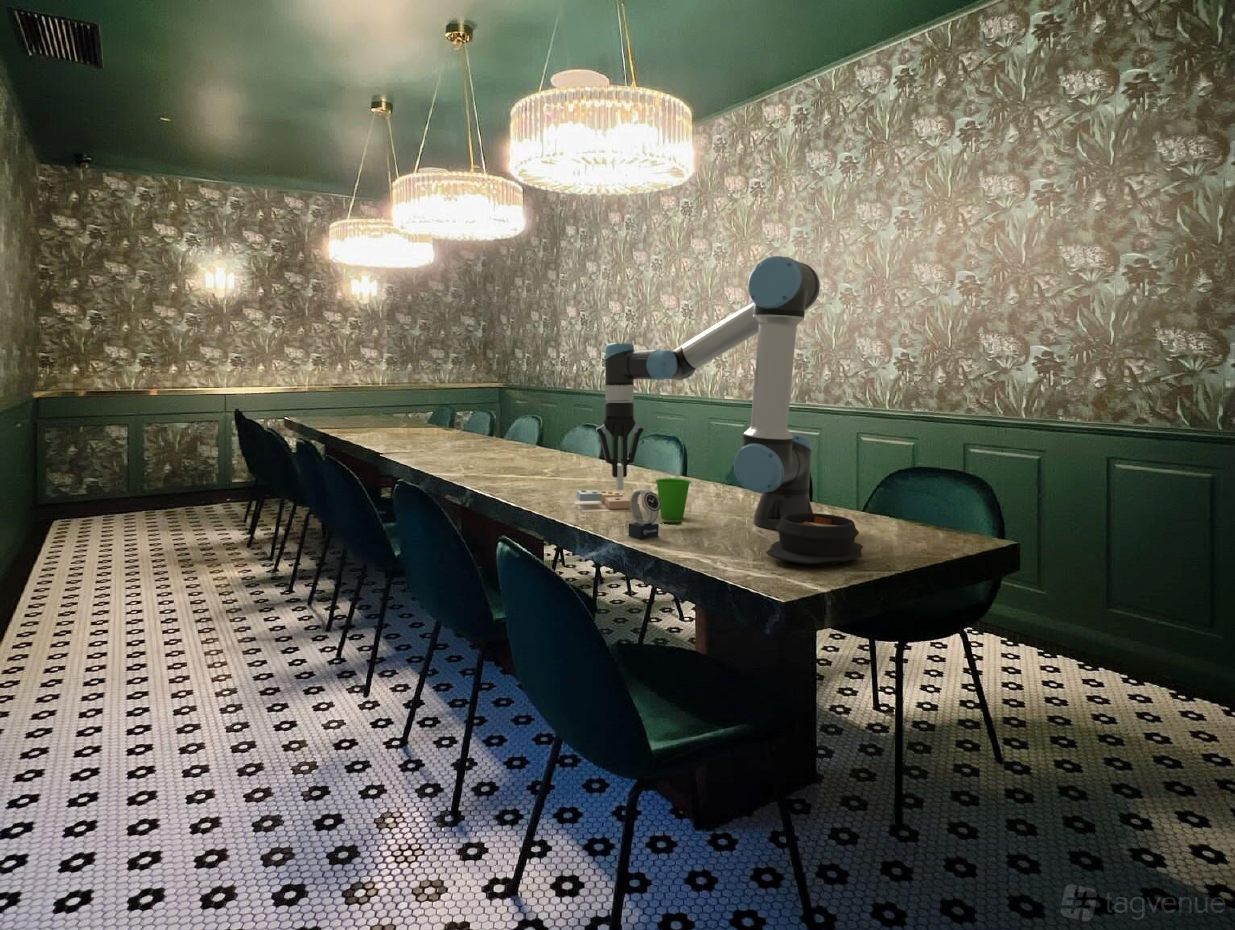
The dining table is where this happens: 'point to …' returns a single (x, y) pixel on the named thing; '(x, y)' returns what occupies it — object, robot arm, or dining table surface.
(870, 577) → the dining table surface
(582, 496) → the tile two
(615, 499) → the tile one
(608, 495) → the tile three
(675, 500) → the cup
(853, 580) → the dining table surface
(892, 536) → the dining table surface
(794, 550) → the casserole
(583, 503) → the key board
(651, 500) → the watch
